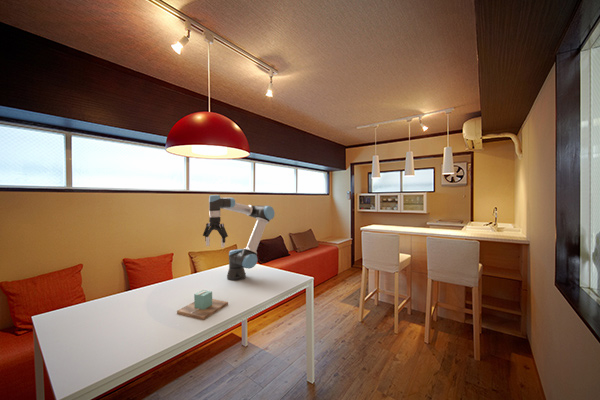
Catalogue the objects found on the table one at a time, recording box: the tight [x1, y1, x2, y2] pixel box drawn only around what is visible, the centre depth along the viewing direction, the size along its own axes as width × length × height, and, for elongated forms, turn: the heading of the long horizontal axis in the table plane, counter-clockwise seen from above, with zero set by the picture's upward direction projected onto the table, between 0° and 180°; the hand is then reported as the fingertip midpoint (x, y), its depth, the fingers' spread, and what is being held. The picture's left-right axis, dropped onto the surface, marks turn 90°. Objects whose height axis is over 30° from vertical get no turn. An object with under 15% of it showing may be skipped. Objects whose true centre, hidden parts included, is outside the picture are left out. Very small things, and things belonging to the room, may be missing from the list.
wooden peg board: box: [176, 298, 229, 320], centre depth 142 cm, size 20×20×7 cm
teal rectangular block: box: [193, 289, 213, 310], centre depth 142 cm, size 7×7×9 cm
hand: (215, 246), depth 169 cm, fingers open, 13 cm apart
